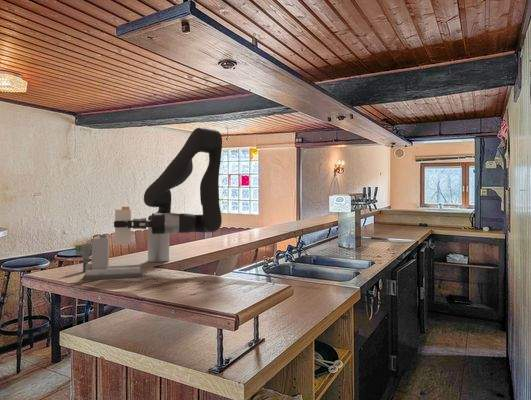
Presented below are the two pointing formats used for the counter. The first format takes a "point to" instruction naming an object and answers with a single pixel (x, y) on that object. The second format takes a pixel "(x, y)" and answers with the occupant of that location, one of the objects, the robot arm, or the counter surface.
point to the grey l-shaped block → (107, 263)
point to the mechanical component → (84, 253)
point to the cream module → (122, 232)
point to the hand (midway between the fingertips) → (114, 224)
